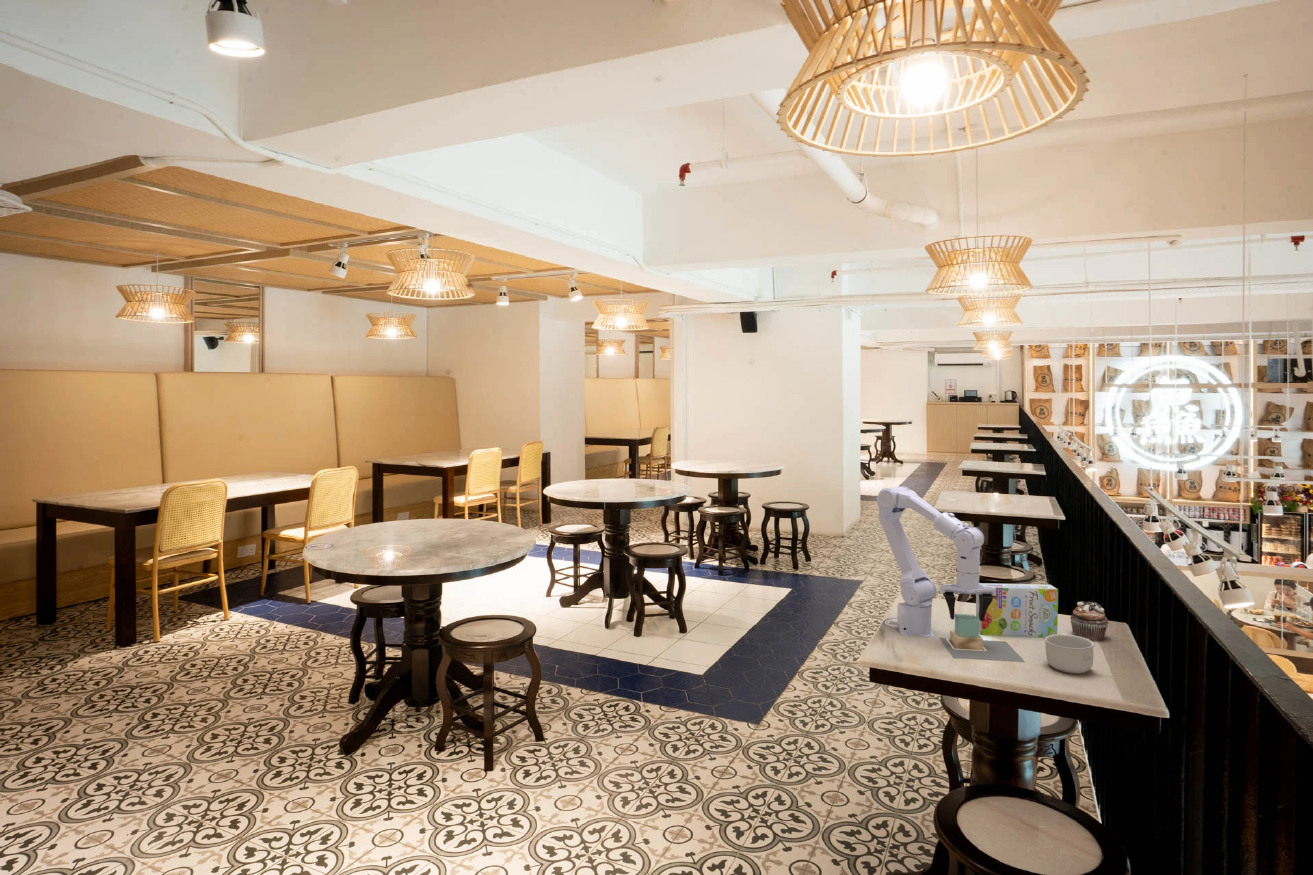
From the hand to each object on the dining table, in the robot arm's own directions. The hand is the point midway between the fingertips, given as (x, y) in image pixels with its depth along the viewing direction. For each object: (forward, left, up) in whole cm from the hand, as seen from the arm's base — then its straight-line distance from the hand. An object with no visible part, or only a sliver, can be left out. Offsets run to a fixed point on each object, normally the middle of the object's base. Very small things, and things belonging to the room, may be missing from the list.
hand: (966, 619), depth 198 cm
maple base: (0, 0, -7) cm, 7 cm away
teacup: (+22, -12, -8) cm, 26 cm away
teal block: (0, 0, -4) cm, 4 cm away
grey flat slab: (+3, -3, -8) cm, 9 cm away
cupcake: (+38, +16, -8) cm, 42 cm away
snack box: (+17, +13, -8) cm, 23 cm away
